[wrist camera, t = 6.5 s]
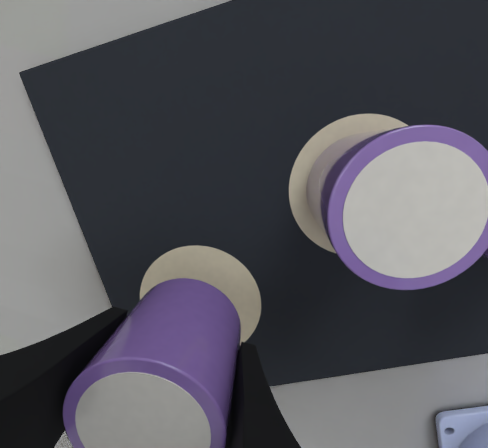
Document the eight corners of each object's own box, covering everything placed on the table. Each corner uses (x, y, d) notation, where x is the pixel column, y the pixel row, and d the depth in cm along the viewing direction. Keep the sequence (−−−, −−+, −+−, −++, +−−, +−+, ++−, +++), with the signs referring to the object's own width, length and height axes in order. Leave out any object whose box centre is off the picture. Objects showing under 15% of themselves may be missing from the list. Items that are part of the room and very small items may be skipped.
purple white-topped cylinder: (423, 228, 14) (511, 273, 9) (317, 250, 15) (343, 304, 10) (410, 119, 13) (502, 101, 8) (295, 149, 14) (312, 150, 8)
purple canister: (253, 363, 14) (245, 485, 9) (155, 379, 15) (96, 501, 10) (225, 267, 13) (198, 344, 8) (120, 289, 14) (33, 374, 9)
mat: (682, 317, 14) (694, 322, 14) (153, 399, 18) (150, 405, 18) (729, -164, 10) (747, -176, 10) (25, 74, 14) (18, 72, 14)
